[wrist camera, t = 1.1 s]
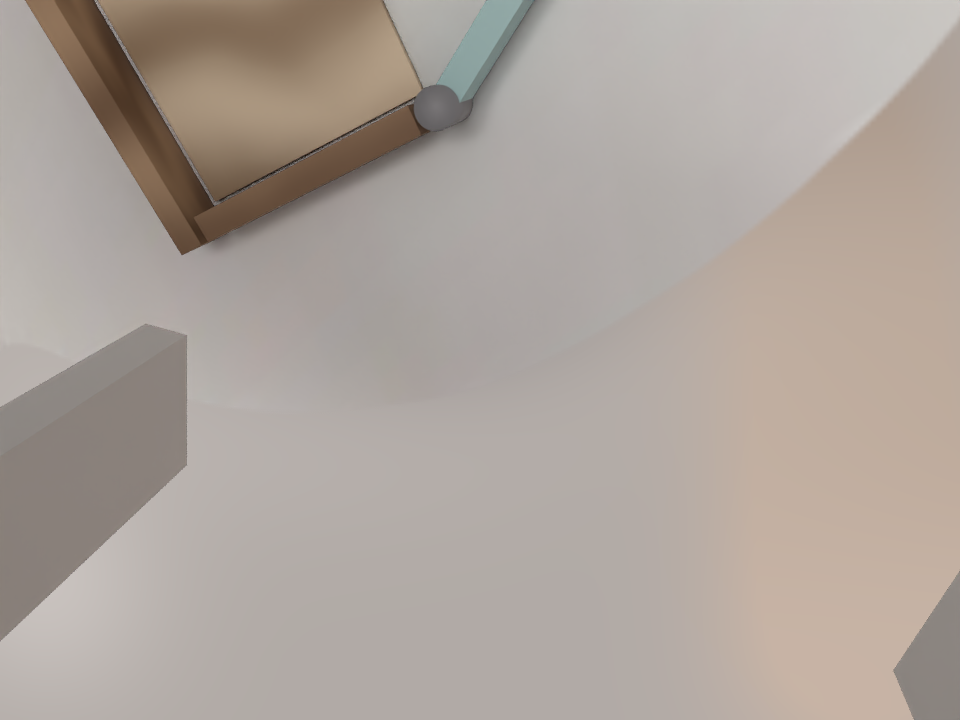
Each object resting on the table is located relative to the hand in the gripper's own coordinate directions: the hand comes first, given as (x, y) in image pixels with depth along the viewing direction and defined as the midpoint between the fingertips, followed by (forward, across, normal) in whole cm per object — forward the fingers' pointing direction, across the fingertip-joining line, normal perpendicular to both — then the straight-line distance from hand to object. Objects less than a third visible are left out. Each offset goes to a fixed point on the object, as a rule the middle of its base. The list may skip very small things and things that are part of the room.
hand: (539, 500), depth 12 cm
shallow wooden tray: (+20, -16, +5) cm, 26 cm away
